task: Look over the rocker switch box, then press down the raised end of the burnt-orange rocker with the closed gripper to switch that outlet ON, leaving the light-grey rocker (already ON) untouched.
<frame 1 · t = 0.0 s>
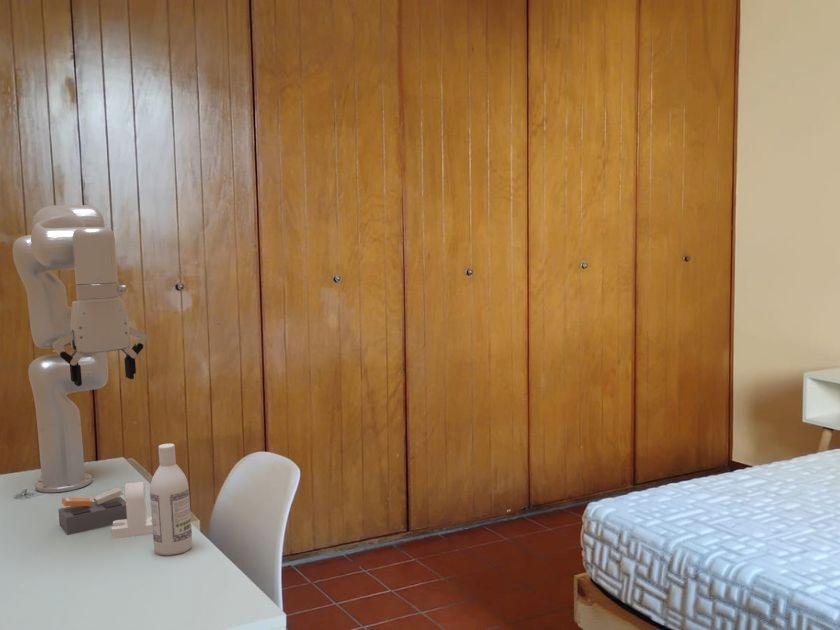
hand: (104, 381, 161), 31 cm above the table, fingers open, 9 cm apart
bath foam: (173, 550, 158), on the table
rocker grey: (108, 495, 176), point 5 cm above the table, hinge at 12.0°
rocker switch box: (95, 523, 174), on the table
cable organizer: (139, 532, 168), on the table
rocker orange: (77, 501, 173), point 5 cm above the table, hinge at -12.0°
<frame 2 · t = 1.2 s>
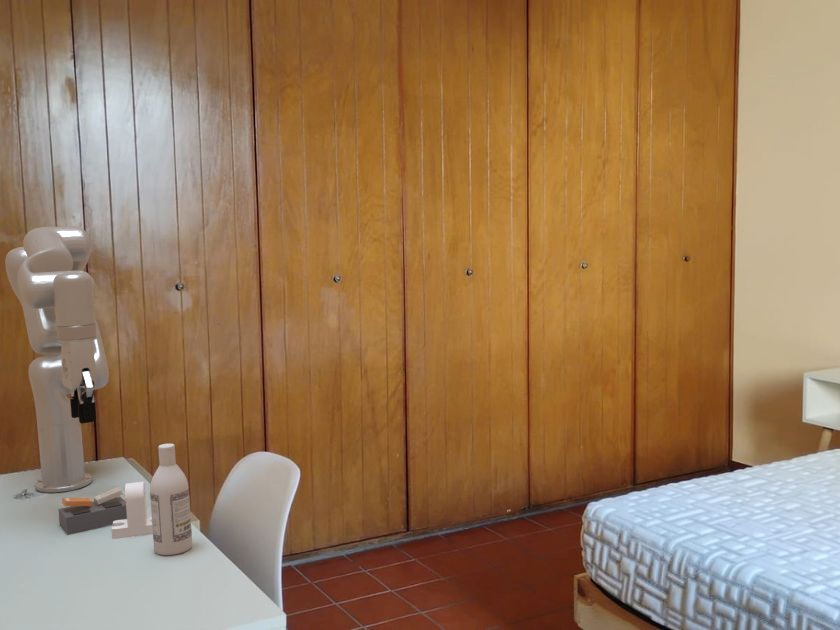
hand: (83, 418, 174), 22 cm above the table, fingers open, 5 cm apart
nothing on the table moved.
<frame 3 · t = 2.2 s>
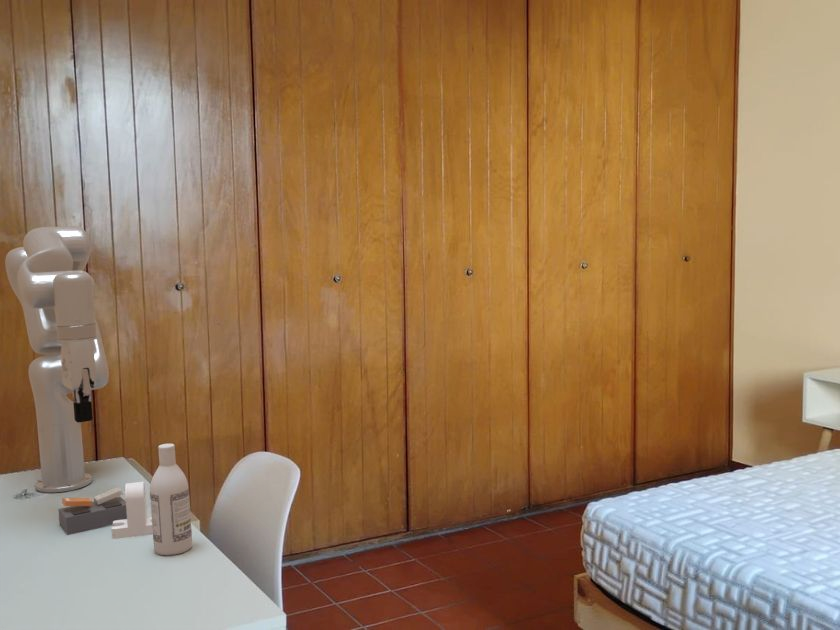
hand: (83, 420, 174), 21 cm above the table, fingers closed
nothing on the table moved.
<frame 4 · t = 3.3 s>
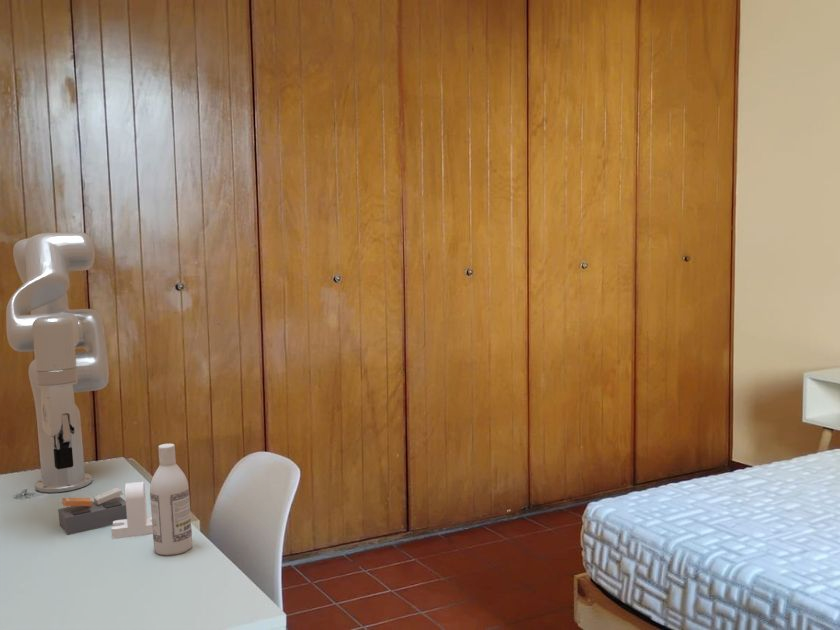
hand: (64, 467, 170), 13 cm above the table, fingers closed
nothing on the table moved.
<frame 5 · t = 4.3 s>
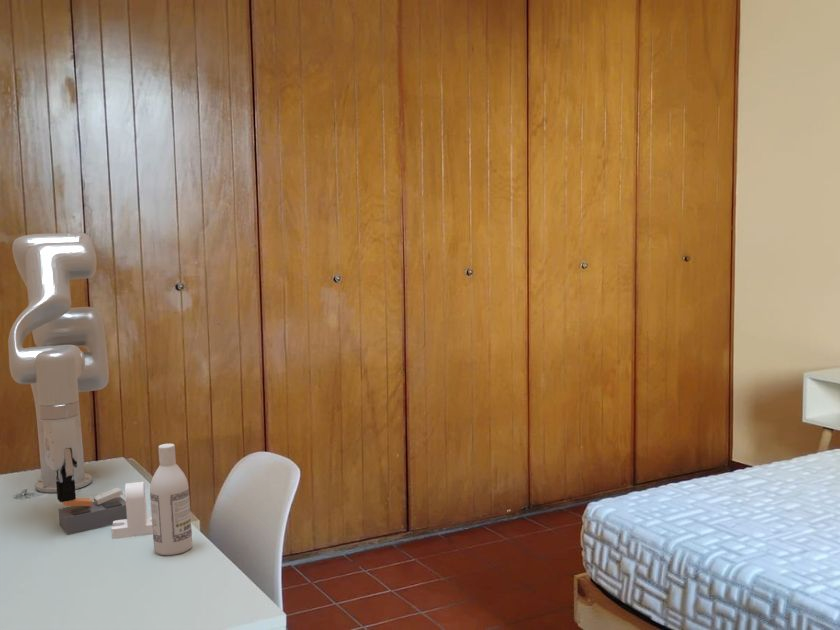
hand: (66, 499, 171), 6 cm above the table, fingers closed
rocker orange: (77, 501, 173), point 5 cm above the table, hinge at -12.0°, touching gripper
everything else where it was.
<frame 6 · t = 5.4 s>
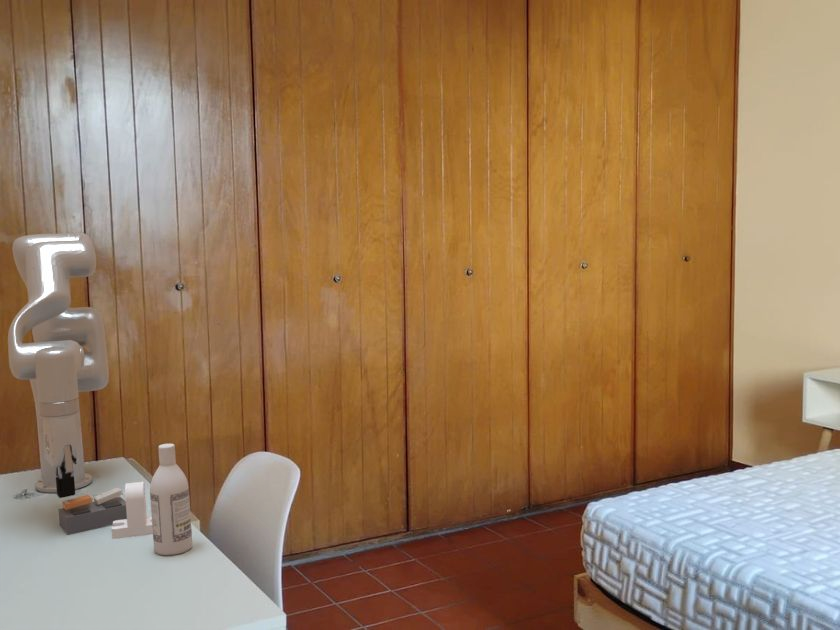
hand: (66, 495, 172), 7 cm above the table, fingers closed
rocker orange: (77, 501, 173), point 5 cm above the table, hinge at 5.4°
everything else where it was.
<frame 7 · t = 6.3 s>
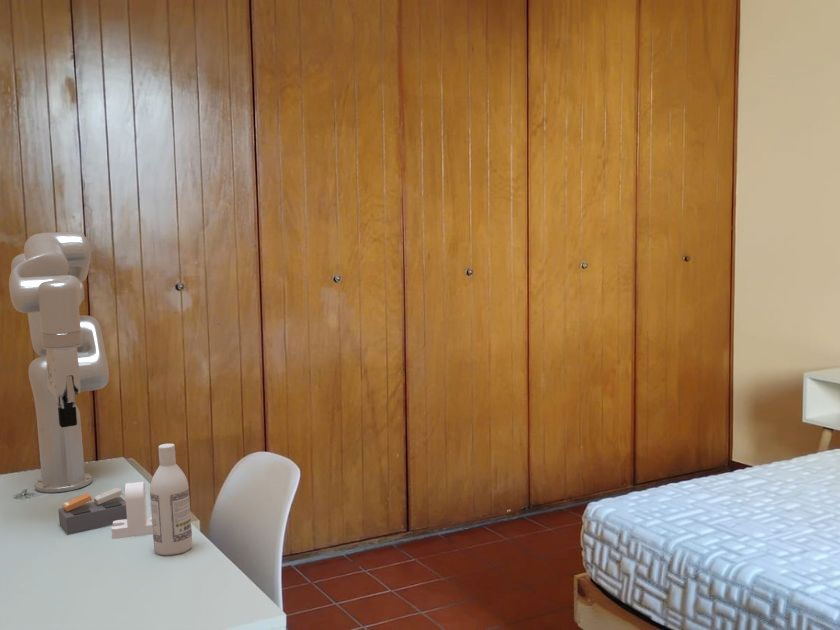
hand: (68, 425, 177), 20 cm above the table, fingers closed
rocker orange: (76, 501, 173), point 5 cm above the table, hinge at 14.5°
everything else where it was.
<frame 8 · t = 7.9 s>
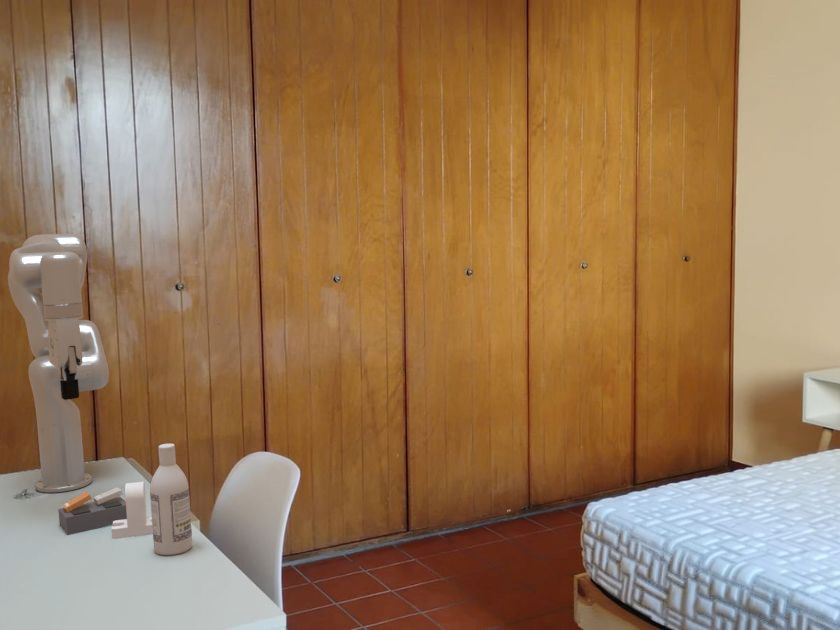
hand: (70, 398, 178), 25 cm above the table, fingers closed
rocker orange: (76, 501, 173), point 5 cm above the table, hinge at 20.6°
everything else where it was.
at the end: rocker orange at +20° (first picture: -12°); rocker grey at +12° (first picture: +12°) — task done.
